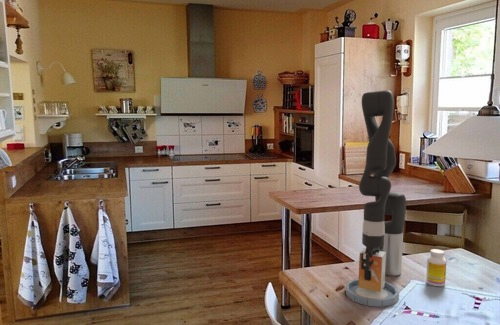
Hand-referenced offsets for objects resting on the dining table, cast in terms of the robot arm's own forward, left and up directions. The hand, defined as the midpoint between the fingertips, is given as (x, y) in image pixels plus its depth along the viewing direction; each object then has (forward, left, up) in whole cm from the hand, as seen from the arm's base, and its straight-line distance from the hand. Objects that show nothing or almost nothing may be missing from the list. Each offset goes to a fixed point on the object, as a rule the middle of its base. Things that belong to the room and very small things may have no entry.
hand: (371, 276), depth 146 cm
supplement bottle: (-25, +15, -7) cm, 30 cm away
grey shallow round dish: (0, 0, -7) cm, 7 cm away
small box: (0, 0, -4) cm, 4 cm away
